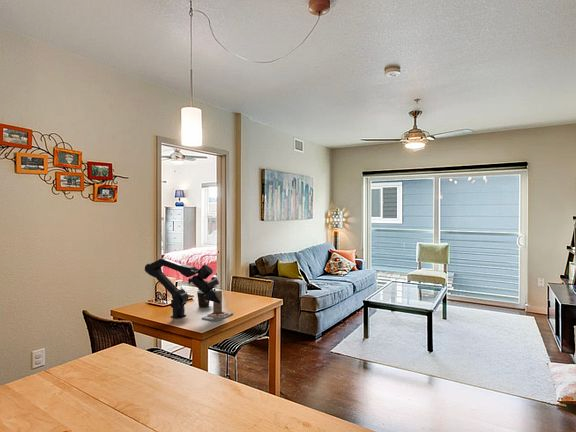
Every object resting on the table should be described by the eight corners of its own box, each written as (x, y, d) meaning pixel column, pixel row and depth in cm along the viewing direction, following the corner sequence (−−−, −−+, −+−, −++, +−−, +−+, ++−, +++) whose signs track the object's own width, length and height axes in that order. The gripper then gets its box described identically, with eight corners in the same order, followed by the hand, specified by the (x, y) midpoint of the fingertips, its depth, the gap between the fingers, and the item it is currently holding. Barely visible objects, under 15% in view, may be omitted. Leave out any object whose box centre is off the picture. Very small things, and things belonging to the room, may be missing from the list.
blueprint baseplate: (216, 321, 195) (216, 318, 195) (201, 319, 200) (201, 315, 200) (233, 314, 210) (233, 311, 209) (218, 312, 214) (218, 308, 214)
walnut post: (218, 314, 201) (218, 292, 201) (211, 313, 204) (211, 291, 203) (223, 312, 206) (223, 290, 206) (216, 311, 208) (216, 289, 208)
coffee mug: (198, 309, 221) (198, 293, 221) (196, 305, 229) (196, 290, 229) (216, 307, 226) (216, 291, 226) (214, 304, 234) (214, 289, 234)
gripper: (210, 276, 195) (230, 295, 197) (211, 271, 213) (229, 288, 215) (195, 291, 193) (216, 310, 195) (197, 284, 211) (216, 301, 214)
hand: (220, 301), depth 205 cm, fingers closed on walnut post, 5 cm apart
